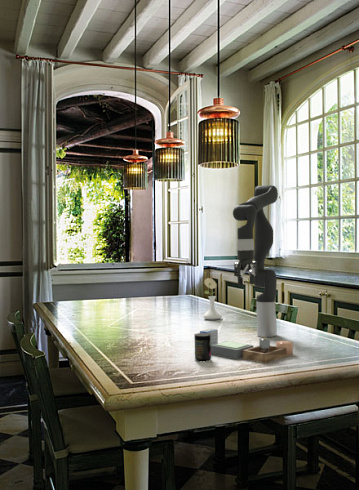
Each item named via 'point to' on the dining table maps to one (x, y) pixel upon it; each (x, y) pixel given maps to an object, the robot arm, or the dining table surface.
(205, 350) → the supplement container
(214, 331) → the medicine box
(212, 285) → the flower in vase
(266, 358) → the brown wooden tray
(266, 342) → the cell
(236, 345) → the pale green panel
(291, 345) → the peach dome knob
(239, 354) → the checker base
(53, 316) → the dining table surface
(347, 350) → the dining table surface
